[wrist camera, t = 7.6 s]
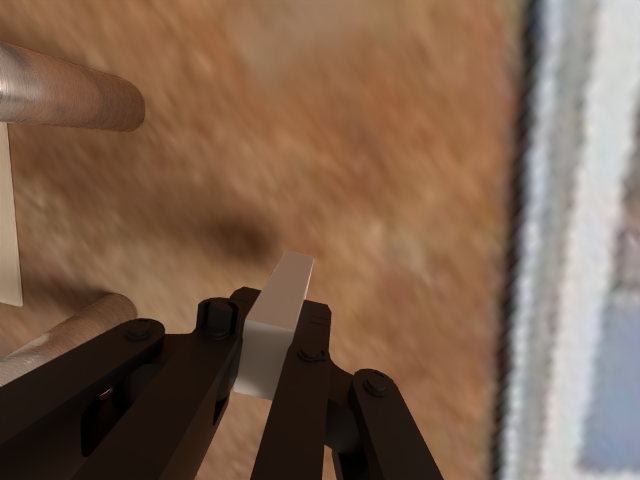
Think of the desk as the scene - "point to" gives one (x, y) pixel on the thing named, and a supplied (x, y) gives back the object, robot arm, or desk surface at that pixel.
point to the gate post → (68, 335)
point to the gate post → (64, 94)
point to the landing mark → (8, 229)
